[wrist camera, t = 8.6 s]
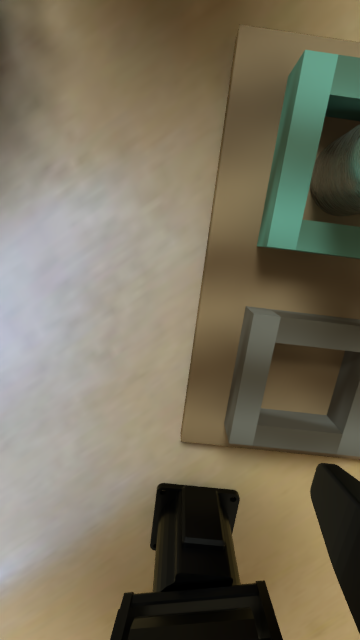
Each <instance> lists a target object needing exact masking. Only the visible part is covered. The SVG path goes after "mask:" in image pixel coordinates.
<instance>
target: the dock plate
mask: <svg viewBox="0 0 360 640" xmlns="http://www.w3.org/2000/svg"><path fill="white" fill-rule="evenodd" d="M359 124H360V42H354V41H348V40H341V39H334V38H328V37H321V36H314V35H308V34H301V33H294V32H288V31H281V30H274V29H267V28H261V27H254V26H247V25H241V24H240V26H239V29H238V33H237V37H236V42H235V49H234V56H233V63H232V70H231V78H230V85H229V92H228V99H227V106H226V113H225V120H224V128H223V135H222V142H221V149H220V156H219V163H218V171H217V178H216V185H215V192H214V199H213V206H212V213H211V221H210V228H209V235H208V242H207V249H206V256H205V263H204V271H203V278H202V285H201V292H200V299H199V306H198V313H197V321H196V328H195V335H194V342H193V349H192V356H191V363H190V371H189V378H188V385H187V392H186V399H185V406H184V413H183V421H182V428H181V442H191V443H200V444H210V445H220V446H230V447H240V448H249V449H259V450H269V451H279V452H288V453H298V454H308V455H318V456H328V457H337V458H347V459H357V460H360V214H356V215H350V216H334V215H330V214H328V213H326V212H324V211H323V210H322V209H320V208H319V207H318V205H317V204H316V203H315V201H314V199H313V197H312V194H311V190H310V182H311V178H312V173H313V168H314V164H315V161H316V159H317V157H318V156H319V155H320V153H321V152H322V151H323V150H324V149H325V148H326V147H327V146H328V145H330V144H331V143H332V142H334V141H335V140H337V139H338V138H340V137H341V136H343V135H344V134H346V133H347V132H349V131H350V130H352V129H353V128H355V127H356V126H358V125H359Z"/></svg>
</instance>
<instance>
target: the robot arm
mask: <svg viewBox="0 0 360 640" xmlns="http://www.w3.org/2000/svg"><path fill="white" fill-rule="evenodd" d="M162 490H165V491H162ZM310 493H311V499H312V503H313V506H314V509H315V512H316V516H317V519H318V522H319V525H320V528H321V531H322V535H323V538H324V541H325V544H326V547H327V551H328V554H329V557H330V560H331V563H332V566H333V569H334V571H335V574H336V576H337V579H338V582H339V584H340V587H341V589H342V591H343V594H344V596H345V599H346V601H347V604H348V606H349V609H350V611H351V614H352V616H353V619H354V621H355V623H356V626H357V628H358V631H359V633H360V481H358V480H357V479H356V478H354V477H353V476H351V475H350V474H349V473H347V472H346V471H344V470H343V469H342V468H340V467H339V466H337V465H335V464H327V463H320V464H319V465H318V466H317V468H316V472H315V475H314V479H313V482H312V485H311V491H310ZM231 497H233V498H231ZM238 504H239V494H238V492H237V491H235V490H228V489H218V488H208V487H198V486H187V485H177V484H167V483H161V484H159V485H158V487H157V493H156V501H155V510H154V518H153V526H152V534H151V543H150V547H151V549H153V550H156V557H155V569H154V582H153V592H152V593H141V594H134V593H133V592H130V593H124V596H123V600H122V603H121V607H120V609H119V610H118V613H117V617H116V620H115V624H114V628H113V631H112V635H111V638H110V640H283V639H282V635H281V632H280V629H279V626H278V622H277V619H276V616H275V613H274V609H273V606H272V603H271V600H270V596H269V593H268V590H267V587H266V583H265V581H256V583H253V584H242V585H241V584H240V579H239V573H238V567H237V562H236V556H235V551H234V545H233V539H232V532H233V527H234V523H235V518H236V514H237V509H238Z"/></svg>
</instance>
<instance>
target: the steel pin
mask: <svg viewBox="0 0 360 640" xmlns="http://www.w3.org/2000/svg"><path fill="white" fill-rule="evenodd" d="M310 190H311V194H312V197H313V199H314V201H315V203H316V204H317V205H318V207H319V208H320V209H322V210H323V211H324V212H326V213H328V214H330V215H334V216H350V215H356V214H360V124H359V125H358V126H356V127H355V128H353V129H352V130H350V131H349V132H347V133H346V134H344V135H343V136H341V137H340V138H338V139H337V140H335V141H334V142H332V143H331V144H330V145H328V146H327V147H326V148H325V149H324V150H323V151H322V152H321V153H320V155H319V156H318V157H317V159H316V161H315V164H314V168H313V173H312V178H311V182H310Z"/></svg>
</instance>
